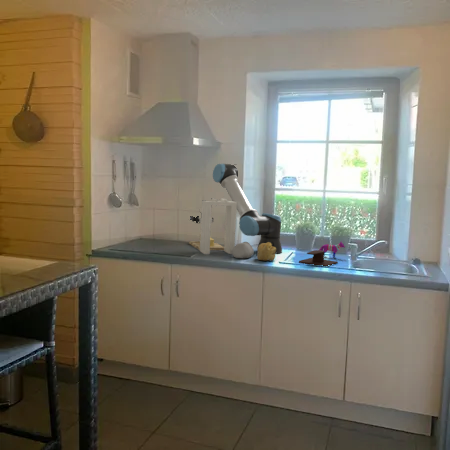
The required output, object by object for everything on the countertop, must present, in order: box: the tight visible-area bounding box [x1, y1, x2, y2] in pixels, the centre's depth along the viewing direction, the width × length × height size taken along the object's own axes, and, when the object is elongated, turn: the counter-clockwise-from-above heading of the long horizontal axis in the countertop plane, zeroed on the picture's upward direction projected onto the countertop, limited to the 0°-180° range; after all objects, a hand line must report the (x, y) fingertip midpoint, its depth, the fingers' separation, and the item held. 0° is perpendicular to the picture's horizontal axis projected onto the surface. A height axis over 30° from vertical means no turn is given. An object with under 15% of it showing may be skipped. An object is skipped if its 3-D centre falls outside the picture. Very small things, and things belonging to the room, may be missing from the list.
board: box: [188, 240, 224, 251], centre depth 298 cm, size 26×16×2 cm, turn 18°
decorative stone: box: [231, 241, 255, 259], centre depth 268 cm, size 17×10×10 cm
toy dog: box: [318, 240, 346, 258], centre depth 280 cm, size 4×18×10 cm, turn 66°
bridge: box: [199, 197, 237, 255], centre depth 277 cm, size 10×18×32 cm, turn 108°
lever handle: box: [298, 249, 339, 267], centre depth 259 cm, size 16×7×20 cm
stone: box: [256, 242, 276, 262], centre depth 261 cm, size 13×10×10 cm
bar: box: [199, 233, 215, 246], centre depth 301 cm, size 22×4×4 cm, turn 15°
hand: (206, 220), depth 299 cm, fingers open, 6 cm apart
